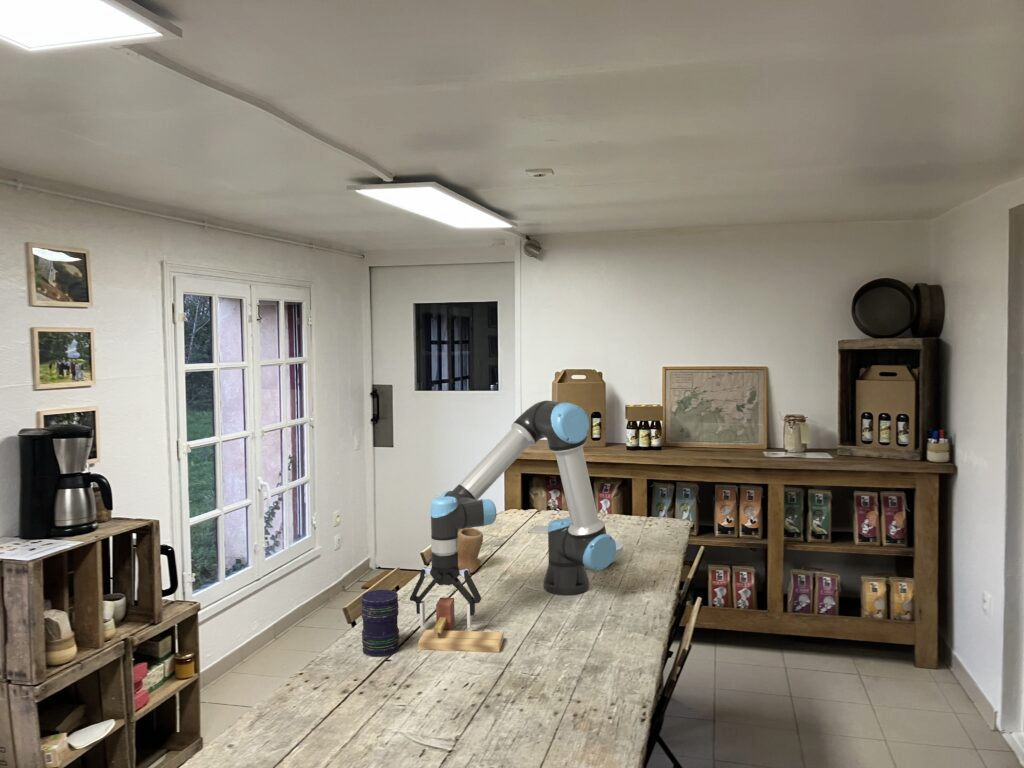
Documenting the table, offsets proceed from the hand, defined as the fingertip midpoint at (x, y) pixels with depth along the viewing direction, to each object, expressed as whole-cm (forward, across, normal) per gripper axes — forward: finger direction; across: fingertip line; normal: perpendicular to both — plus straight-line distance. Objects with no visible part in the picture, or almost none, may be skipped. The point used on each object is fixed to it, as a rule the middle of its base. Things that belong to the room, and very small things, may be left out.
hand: (445, 625), depth 226 cm
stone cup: (+2, +4, -59) cm, 59 cm away
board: (+2, -6, +8) cm, 10 cm away
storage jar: (+2, +15, +14) cm, 21 cm away
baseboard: (+3, -28, -114) cm, 118 cm away
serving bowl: (+2, -41, -72) cm, 83 cm away
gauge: (+2, 0, +4) cm, 4 cm away
